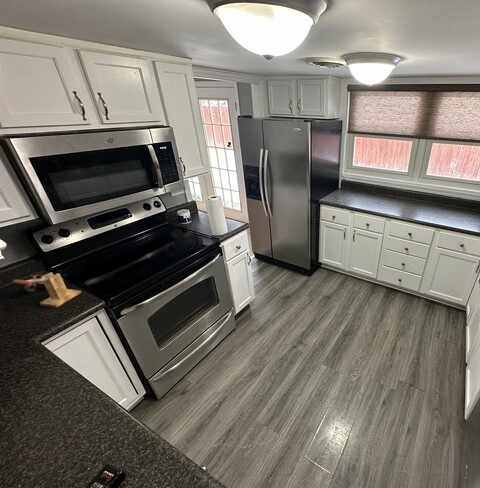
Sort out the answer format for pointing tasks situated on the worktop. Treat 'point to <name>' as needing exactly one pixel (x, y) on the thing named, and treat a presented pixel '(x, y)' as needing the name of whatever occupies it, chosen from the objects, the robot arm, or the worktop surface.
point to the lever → (31, 280)
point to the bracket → (57, 291)
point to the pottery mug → (33, 284)
